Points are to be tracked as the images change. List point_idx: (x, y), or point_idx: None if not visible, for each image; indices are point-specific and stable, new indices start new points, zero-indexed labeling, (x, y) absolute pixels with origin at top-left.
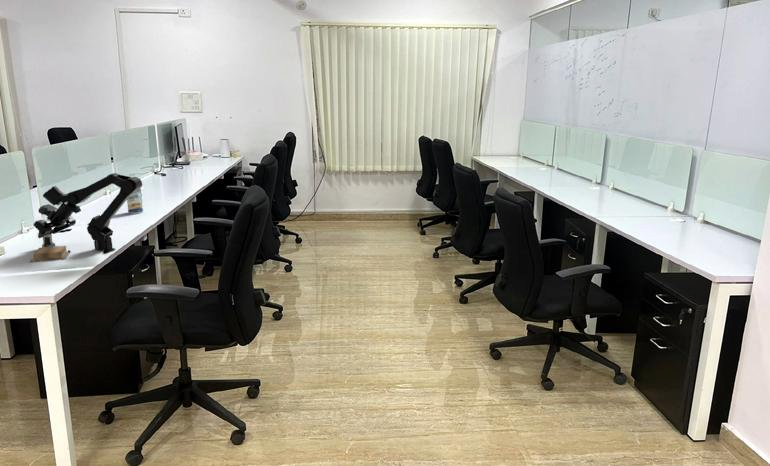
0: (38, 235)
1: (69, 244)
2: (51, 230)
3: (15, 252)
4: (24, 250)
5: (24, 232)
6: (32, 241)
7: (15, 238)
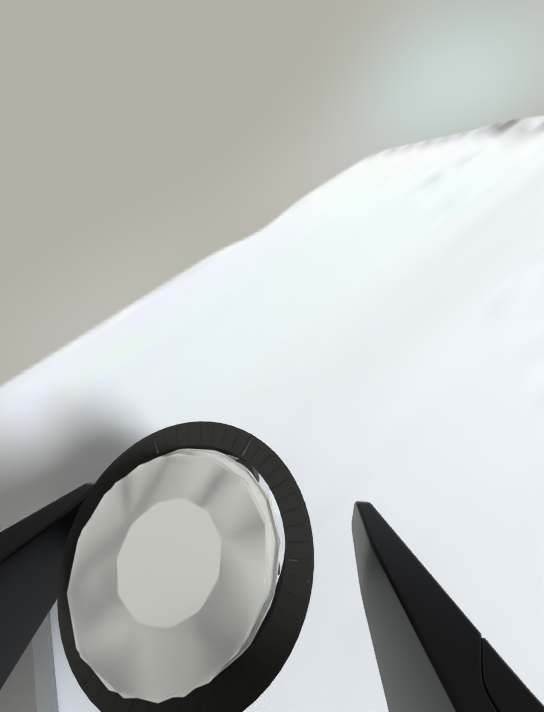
0: (48, 513)
1: (457, 583)
2: (186, 709)
3: (166, 325)
4: (213, 342)
5: (518, 126)
6: (406, 248)
7: (418, 157)
